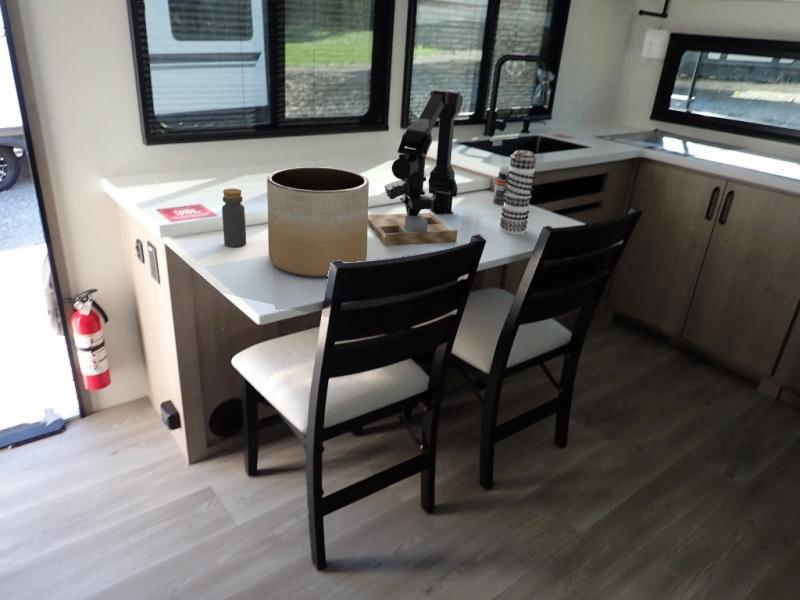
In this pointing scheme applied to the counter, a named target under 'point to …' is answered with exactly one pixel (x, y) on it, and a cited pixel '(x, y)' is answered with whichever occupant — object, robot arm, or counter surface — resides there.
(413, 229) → the block
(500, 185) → the supplement bottle
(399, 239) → the wooden compartment tray
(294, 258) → the planter
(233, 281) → the counter surface
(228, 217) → the bottle
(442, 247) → the counter surface
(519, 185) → the decorative candle
